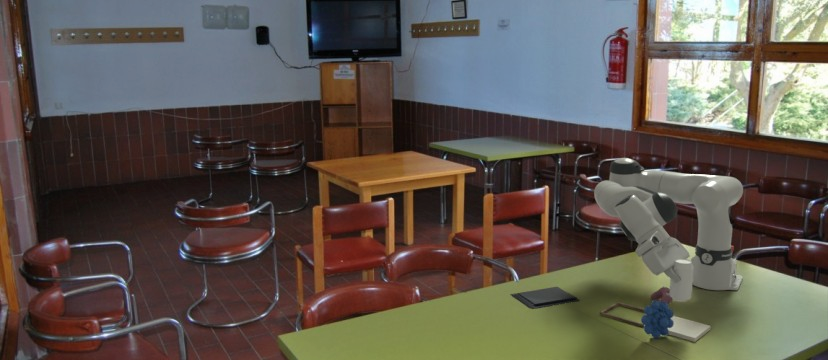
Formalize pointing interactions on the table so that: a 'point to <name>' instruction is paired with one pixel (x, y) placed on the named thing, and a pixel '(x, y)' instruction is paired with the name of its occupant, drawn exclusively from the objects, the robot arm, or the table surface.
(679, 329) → the brown bars cream slab
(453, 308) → the table surface
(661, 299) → the video game controller
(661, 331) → the grapes
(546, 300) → the dark grey flat block
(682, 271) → the beverage can
